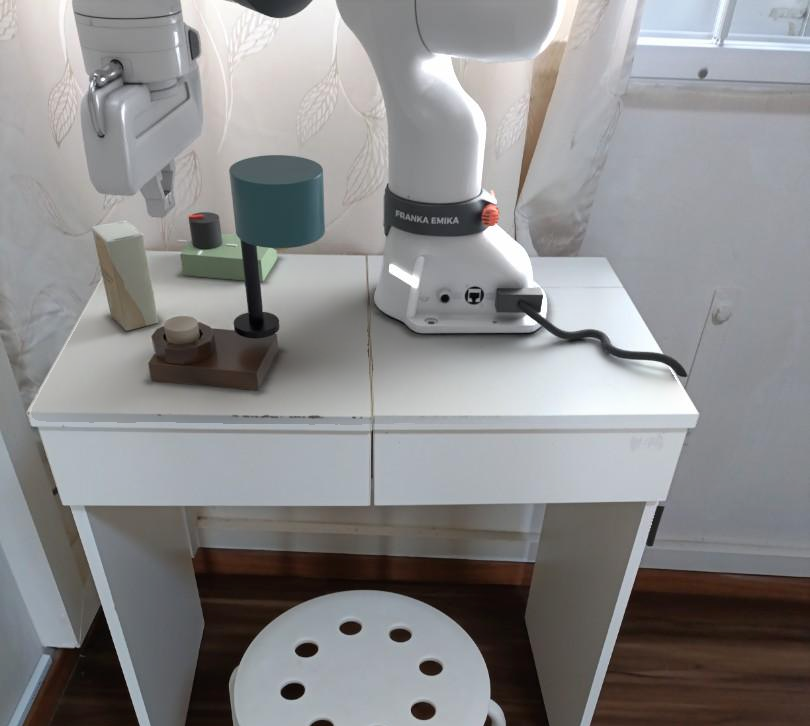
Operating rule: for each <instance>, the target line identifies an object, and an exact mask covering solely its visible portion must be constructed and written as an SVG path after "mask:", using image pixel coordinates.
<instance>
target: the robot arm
mask: <svg viewBox="0 0 810 726" xmlns="http://www.w3.org/2000/svg"><path fill="white" fill-rule="evenodd" d="M224 1H225V2H229V3H234V4H238V5H239V6H241V7H244V8H246V9H248V10H251V11H254V12H256V13H259V14H261V15H263V16H266V17H268V18H272V19H286V18H289V17H293V16H295V15H297V14H299V13H301V12H302V11H304V10H305V9H306V8H308V6H309V5H310V4H311V3H312V2H313V1H314V0H224ZM71 5H72V6H71V7H72V12H73V16H74V22H75V26H76V30H77V36H78V41H79V44H80V50H81V54H82V60H83V65H84V69H85V72H86V75H87V76H88V81H89V84H88V90H87V91H86V93H85V94H84V95H83V97H82V99H81V102H80V110H79V111H80V113H79V115H80V126H81V134H82V142H83V147H84V148H83V149H84V155H85V159H86V166H87V172H88V176H89V180H90V183H91V185H92V186H93V187H94V189H95V190H96V192H97V193H99V194H100V195H101V194H102V195H107V196H108V195H109V196H123V197H133V196H134V195H136V194H137V193H138V192H140V193H141V195H142V197H143V198H144V201H145V205H146V212H147V214H148V216H150V217H151V218H160V219H163V218H165V217H166V216H168V214H169V213H170V211H171V210H173V209H174V208H175V207H176V198H175V193H174V188H175V180H176V179H175V178H176V169H177V168H176V161H175V159H177V157H178V156H179V155H180V154H181V153H182V152H184V151H185V150H186V149H187V148H188V147H190V145H191V144H193V142H194V141H196V140H197V139H198V138H199V137H200V136H201V135H202V131H203V124H204V105H203V92H202V80H201V79H202V78H201V72H200V66H199V63H198V59H200V57H201V55H202V41H201V35H200V32H199V31H198V30H197V29H195V28H194V27H192V26H190V25H188V24H187V23H186V22H185V21H184V16H183V8H182V1H181V0H71ZM335 5H336V8H337V10H338V13H339V16H340V18H341V19H342V21H343V23H344V24H345V26H346V27H347V28H348V29H349V30H350V31H351V32H352V33H353V35H354V36H355V38H357V40H358V41H359V43H360V45H361V46H362V48H363V50H364V51H365V53H366V55H367V57H368V59H369V61H370V63H371V66H372V68H373V70H374V73H375V76H376V79H377V81H378V85H379V87H380V92H381V95H382V98H383V99H382V100H383V104H384V107H385V114H386V115H385V116H386V122H387V124H386V125H387V152H388V154H387V155H388V157H387V158H388V182H387V183H386V186H385V188H384V193H383V200H382V201H383V203H382V226H383V232H384V235H385V240H384V250H383V256H382V261H381V262H382V263H381V268H380V272H379V278H378V282H377V285H376V288H375V291H374V294H373V301H374V304H375V305H376V307H377V308H378V309H379V310H380V311H381V312H382V313H384V314H385V315H387V316H389V317H391V318H394V319H396V320H398V321H400V322H402V323H404V324H405V326H406V327H408V328H409V329H410V330H411V331H413V332H415V333H419V334H521V333H522V334H524V333H534V332H535V331H537V330H538V329H540V328H541V327H542V328H543V329H545V330H546V331H547V332H549V333H550V334H551V335H553V336H555V337H557V338H559V339H563V340H566V341H575V340H580V339H585V338H586V339H587V338H593V339H597V340H599V341H600V342H601V345H602V347H603V348H604V350H605V351H606V352H607V353H608V354H610V355H611V356H614V357H615V358H619V359H623V360H630V361H631V360H632V361H651V362H658V363H662V364H664V365H666V366H668V367H670V368H671V369H672V370H673V371H674V373H675V374H676V375H677V376H679V377H681V378H688V373H687V371H686V369H685V368H684V367H683V365H682V364H681V363H680V362H679V361H677V359H675V358H673V357H672V356H670V355H667V354H665V353H661V352H656V351H655V352H654V351H640V350H639V351H635V350H626V349H622V348H618V347H616V346H615V345H613V344H612V342H611V340H610V338H609V337H608V335H607V334H606V333H605V332H603V331H601V330H599V329H593V328H587V329H580V330H575V331H568V330H564V329H561V328H559V327H557V326H555V325H554V324H553V323H552V322H550V321H549V320H548V319H546V318H547V312H548V299H547V295H546V293H545V291H544V290H543V287H541V286H540V285H539V284H538V283H537V282H535V281H534V275H533V268H532V263H531V260H530V257H529V254H528V253H527V251H526V249H525V248H524V247H523V246H522V245H521V244H520V243H519V242H517V241H516V240H515V239H514V238H512V237H511V236H510V235H509V234H508V232H506V231H505V230H504V229H503V228H501V227H500V226H499V225H498V224H497V223H499V220H500V217H499V216H500V210H499V207H498V206H497V202H498V201H497V198H496V197H495V196H496V195H495V193H494V190H492V189H491V190H490V192H489V191H487V190H486V189H485V188H483V187H482V181H483V169H484V159H485V158H484V157H485V150H486V149H485V147H486V139H487V138H486V136H487V124H486V119H485V115H484V113H483V111H482V109H481V108H480V106H479V104H478V103H477V102H476V101H475V100H474V99H473V98H472V97H471V96H470V95H469V94H468V93H467V92H466V90H464V89H463V87H462V86H461V83H460V82H459V80H458V78H457V76H456V74H455V71H454V67H453V64H452V58H457V59H461V60H462V59H463V60H468V61H473V62H480V63H484V64H485V63H486V64H504V63H514V62H516V63H517V62H525V61H531V60H534V59H535V58H537V57H538V56H540V54H542V53H543V51H544V50H545V49H547V47H548V46H549V44H550V43H551V41H552V40H553V39H554V37H555V35H556V33H557V31H558V30H559V27H560V24H561V22H562V19H563V15H564V11H565V6H566V0H335ZM451 57H452V58H451ZM664 510H665V505H664V506H663V505H656V507H655V511H654V514H655V515H654V514H653V517H654V518H653V517H652V520H653V521H652V520H651V523H652V525H651V524H650V527H651V528H649V530H650V531H648V534H647V538H646V542H645V546H647V547H653V546H654V544H655V540H656V536H657V533H658V530H659V525H660V522H661V519H662V516H663V512H664Z"/></svg>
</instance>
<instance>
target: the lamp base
mask: <svg viewBox="0 0 810 726" xmlns="http://www.w3.org/2000/svg"><path fill="white" fill-rule="evenodd" d="M198 326H199V333H200V339H199V340H196V341H194V342H192V343H187V344H172V343H169V342H167V340H166V335H165V329H164V325H162V326H160V327H158V328H156V330H155V331H154V332H153V333H152V334H151V343H152V346H153V347H152V348H153V351H154V353H153V355H152V357H150V359H149V361H148V362H147V366H148V370H149V375H150V380H151V381H154V382H164V383H174V384H185V385H195V386H196V385H197V386H208V387H217V388H218V387H219V388H229V389H238V390H248V391H249V390H250V391H259V390H260V388H261V386H262V384H263V382H264V381H265V378H266V377H267V374H268V373H269V370H270V368H271V366H272V364H273V362H274V360H275V358H276V356H277V354H278V352H279V345H278V334H277V333H275V334H274V335H272V336H269V337H265V338H246V337H243V336H240V335H238V334H237V333H236V332H235V330H234V329H227V328H226V329H225V328H214V327H211V326H209V325H207V324H205V323H203V322H200V321H198Z"/></svg>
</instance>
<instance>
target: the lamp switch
mask: <svg viewBox="0 0 810 726" xmlns="http://www.w3.org/2000/svg"><path fill="white" fill-rule="evenodd" d="M198 322H199V321H198V319H197V318H195V317H193V316H190V315H189V316H188V315H178V316H173V317H170V318H168V319H166V320H165V321H164V323H163V326H164V329H165V335H166V340H167V342H169V343H172V344H187V343H192V342H194V341H196V340H199V339H200V333H199V326H198Z"/></svg>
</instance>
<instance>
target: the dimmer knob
mask: <svg viewBox="0 0 810 726" xmlns="http://www.w3.org/2000/svg"><path fill="white" fill-rule="evenodd" d="M188 224H189V230H190V238H191V241H192V244H193V246H194V247H196V248H200V249H212V248H216V247H219V246H220V245H222V236H221V234H222V228H221V221H220V215H219V214H218V213H216V212H215V213H214V212H208V211H202V212H196V213H193V214H191V215H188Z"/></svg>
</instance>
